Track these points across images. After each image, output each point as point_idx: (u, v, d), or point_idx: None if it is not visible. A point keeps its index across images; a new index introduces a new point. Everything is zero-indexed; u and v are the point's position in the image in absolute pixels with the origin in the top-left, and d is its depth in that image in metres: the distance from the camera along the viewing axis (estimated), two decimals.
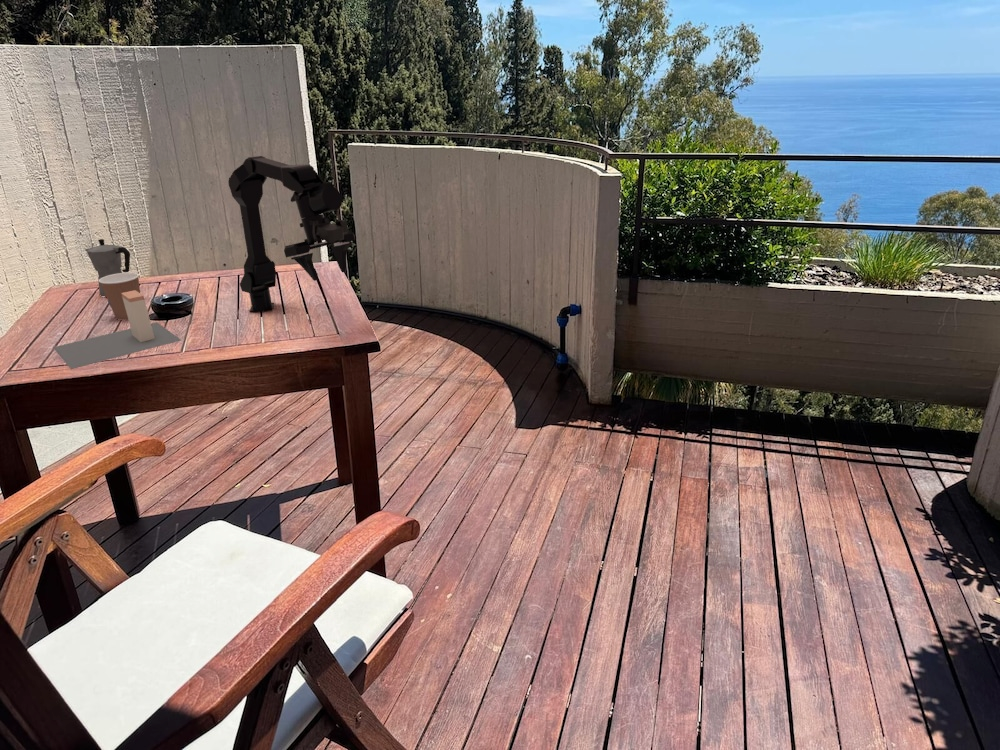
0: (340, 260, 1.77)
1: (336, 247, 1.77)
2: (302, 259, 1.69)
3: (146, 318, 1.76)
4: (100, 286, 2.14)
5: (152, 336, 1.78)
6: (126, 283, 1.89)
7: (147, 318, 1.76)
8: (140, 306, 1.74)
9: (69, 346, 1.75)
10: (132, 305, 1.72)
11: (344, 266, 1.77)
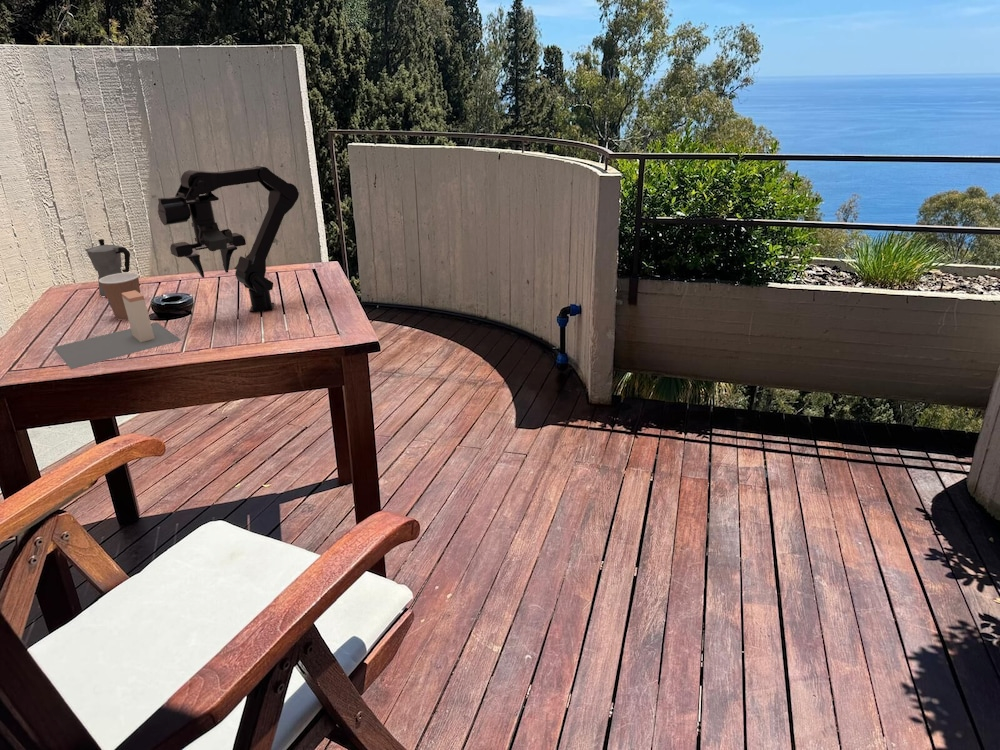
0: (224, 261, 1.88)
1: (222, 248, 1.88)
2: None
3: (146, 318, 1.76)
4: (100, 286, 2.14)
5: (152, 336, 1.78)
6: (126, 283, 1.89)
7: (147, 318, 1.76)
8: (140, 306, 1.74)
9: (69, 346, 1.75)
10: (132, 305, 1.72)
11: (227, 268, 1.89)
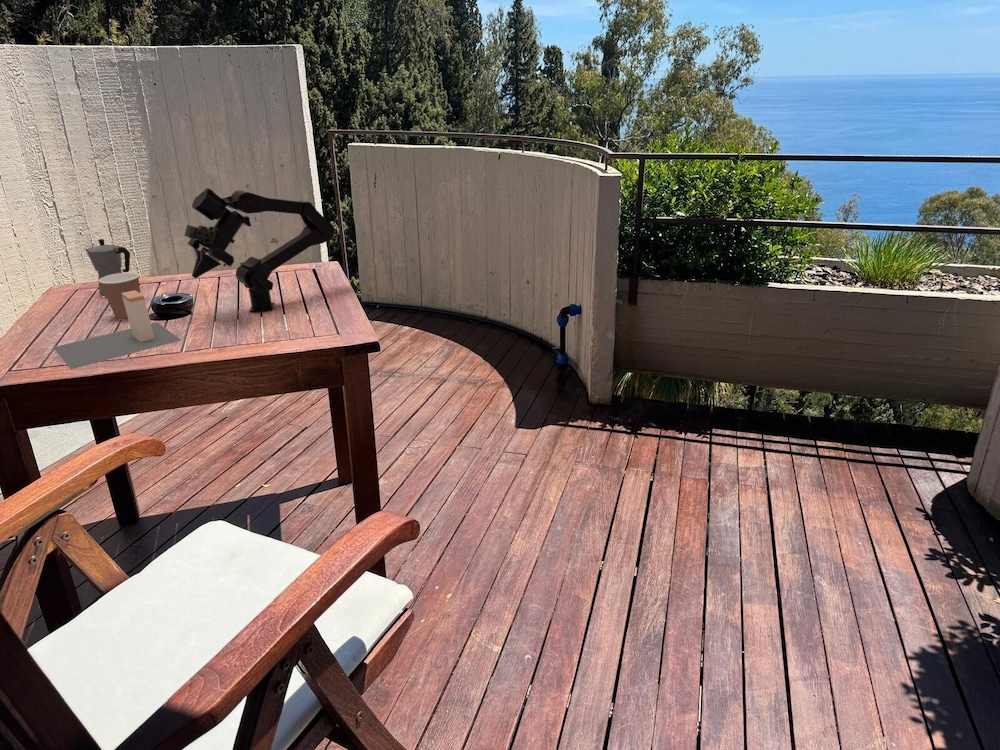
0: None
1: None
2: None
3: (146, 318, 1.76)
4: (100, 286, 2.14)
5: (152, 336, 1.78)
6: (126, 283, 1.89)
7: (147, 318, 1.76)
8: (140, 306, 1.74)
9: (69, 346, 1.75)
10: (132, 305, 1.72)
11: (194, 271, 1.83)
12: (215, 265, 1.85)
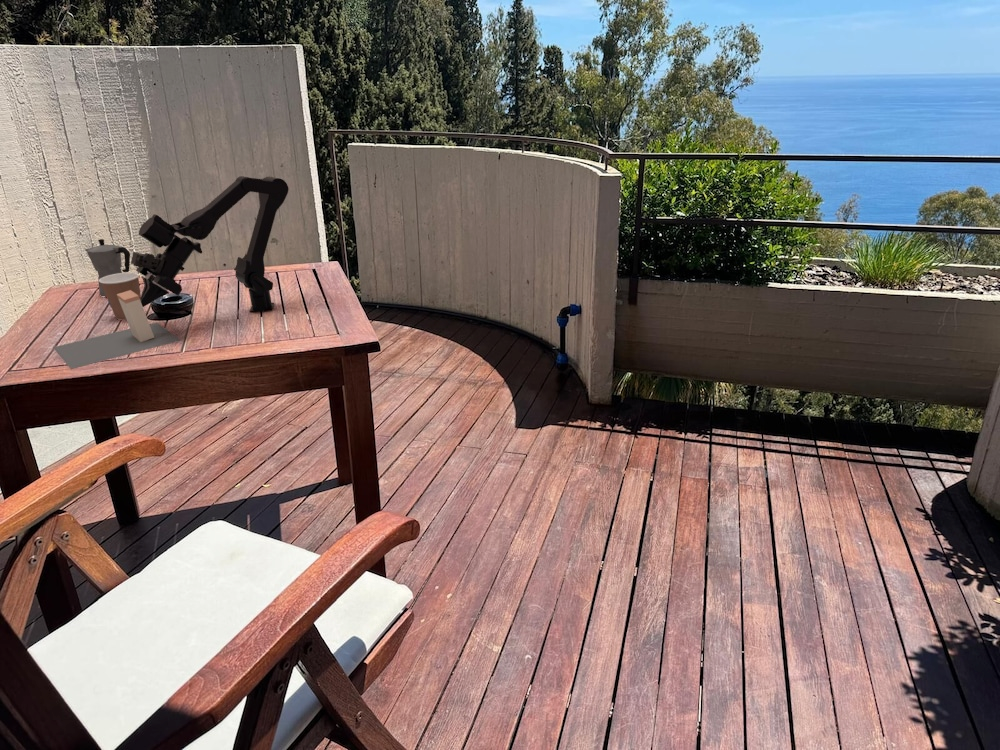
0: None
1: None
2: None
3: (143, 318, 1.75)
4: (100, 286, 2.14)
5: (151, 335, 1.78)
6: (126, 283, 1.89)
7: (145, 318, 1.75)
8: (137, 306, 1.73)
9: (69, 346, 1.75)
10: (128, 306, 1.72)
11: (141, 300, 1.76)
12: (163, 293, 1.78)
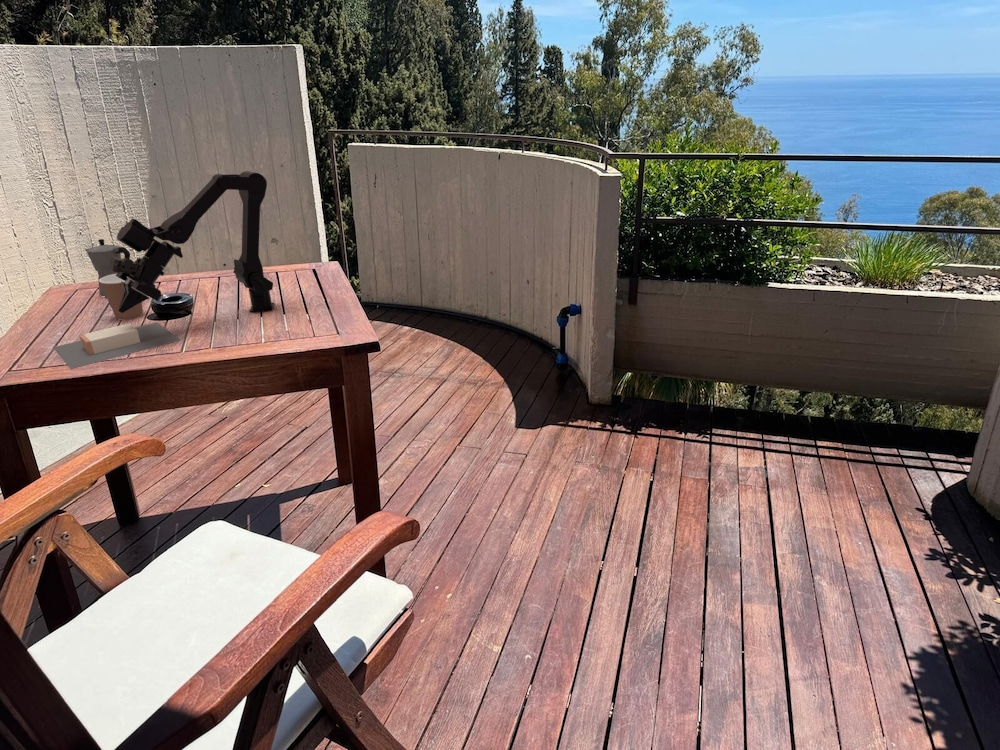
0: None
1: None
2: None
3: (113, 338, 1.72)
4: (100, 286, 2.14)
5: (134, 332, 1.75)
6: None
7: (113, 337, 1.72)
8: (98, 344, 1.70)
9: (69, 346, 1.75)
10: (97, 351, 1.70)
11: (120, 306, 1.73)
12: (143, 299, 1.75)
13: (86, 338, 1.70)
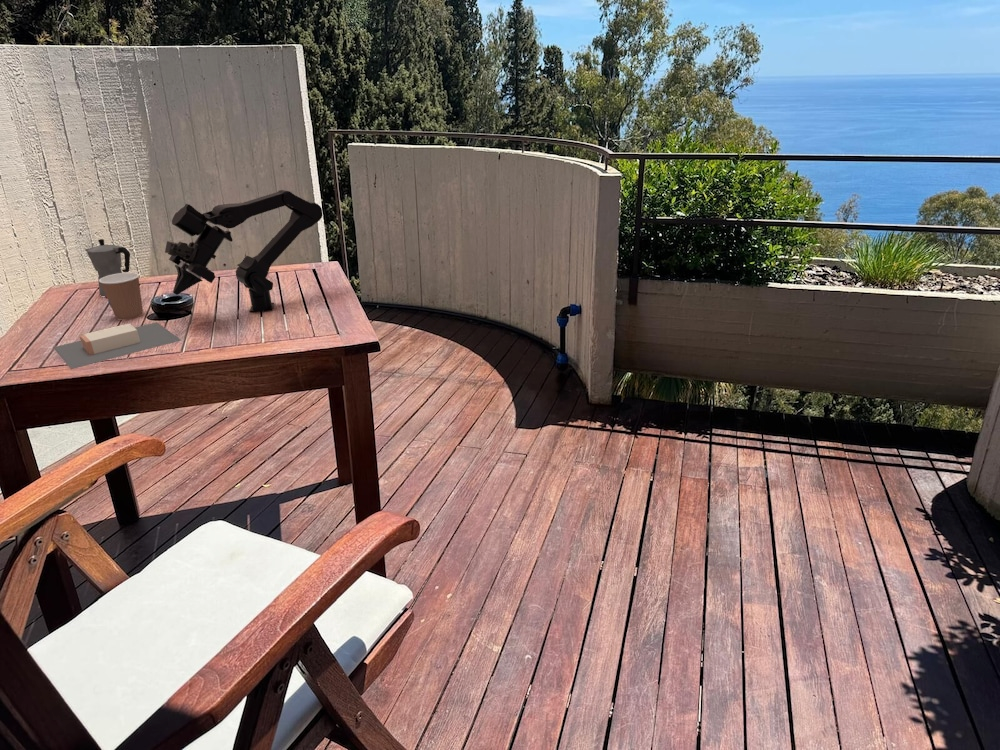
0: None
1: None
2: None
3: (113, 338, 1.72)
4: (100, 286, 2.14)
5: (134, 332, 1.75)
6: (126, 283, 1.89)
7: (113, 337, 1.72)
8: (98, 344, 1.70)
9: (69, 346, 1.75)
10: (97, 351, 1.70)
11: (175, 288, 1.81)
12: (196, 281, 1.83)
13: (86, 338, 1.70)
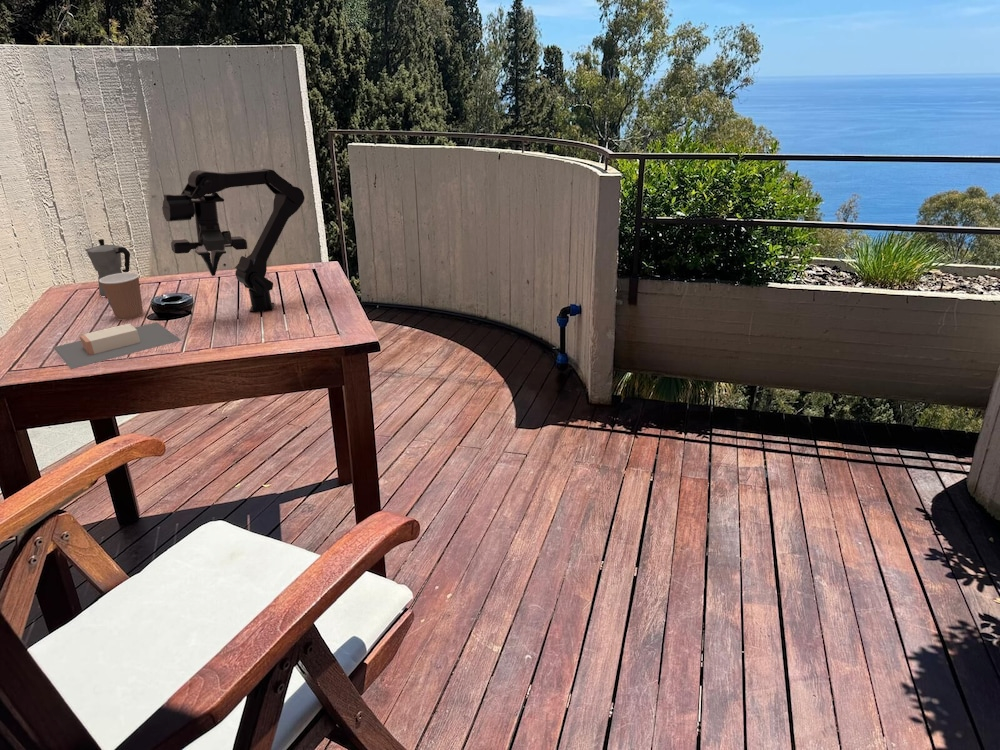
0: (212, 264, 1.86)
1: (212, 251, 1.86)
2: None
3: (113, 338, 1.72)
4: (100, 286, 2.14)
5: (134, 332, 1.75)
6: (126, 283, 1.89)
7: (113, 337, 1.72)
8: (98, 344, 1.70)
9: (69, 346, 1.75)
10: (97, 351, 1.70)
11: (214, 271, 1.86)
12: None
13: (86, 338, 1.70)
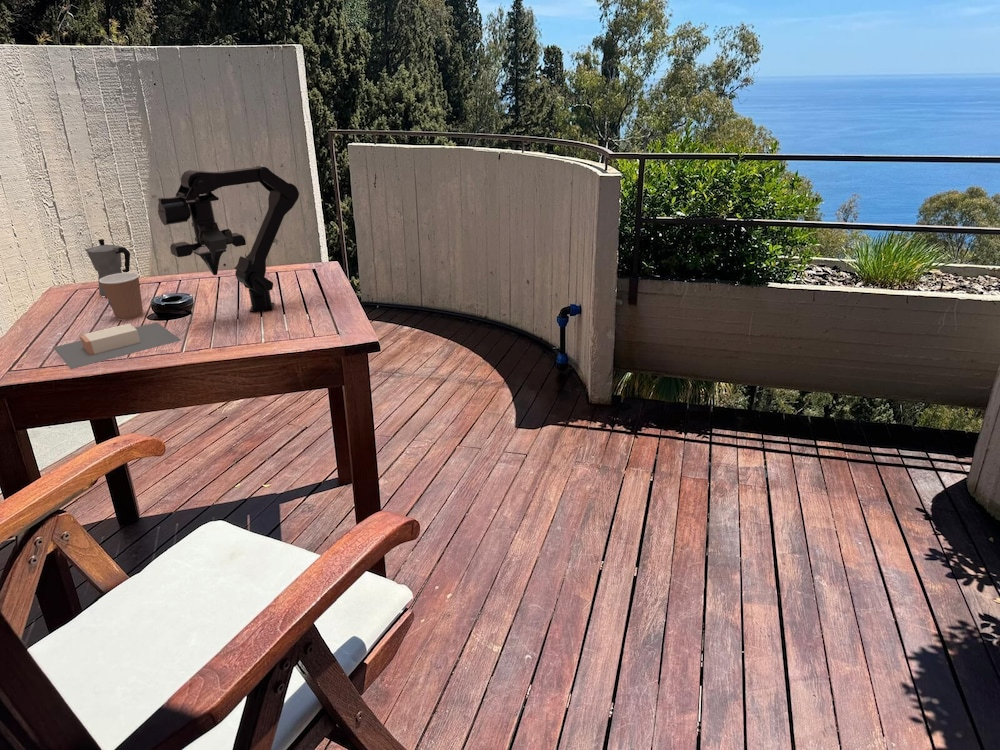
0: (213, 263, 1.86)
1: (211, 250, 1.86)
2: None
3: (113, 338, 1.72)
4: (100, 286, 2.14)
5: (134, 332, 1.75)
6: (126, 283, 1.89)
7: (113, 337, 1.72)
8: (98, 344, 1.70)
9: (69, 346, 1.75)
10: (97, 351, 1.70)
11: (216, 270, 1.87)
12: None
13: (86, 338, 1.70)
